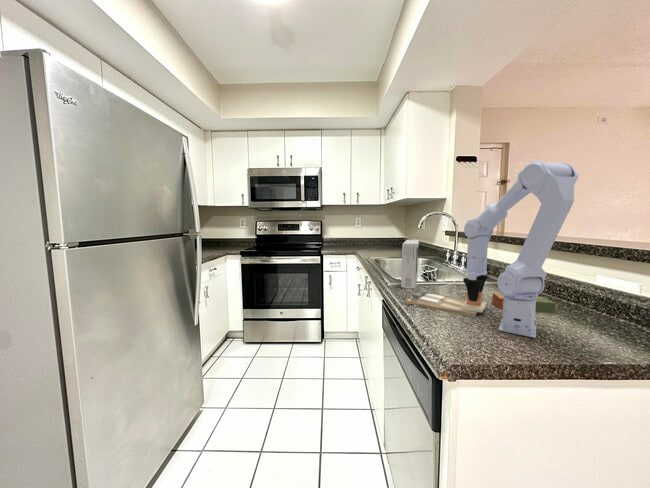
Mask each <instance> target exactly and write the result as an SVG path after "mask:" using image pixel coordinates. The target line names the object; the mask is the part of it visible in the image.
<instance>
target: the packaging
mask: <svg viewBox="0 0 650 488" xmlns="http://www.w3.org/2000/svg"><path fill="white" fill-rule="evenodd" d="M401 246H402V247H401V249H402V250H401V273H400V274H401V279H400V282H401V283H400V288H401V287H405V288H416V289H417V284H416V282H418V276H419V251H420V240H419V239H406V240H405V241H404V242H403V243H402V245H401Z"/></svg>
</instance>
